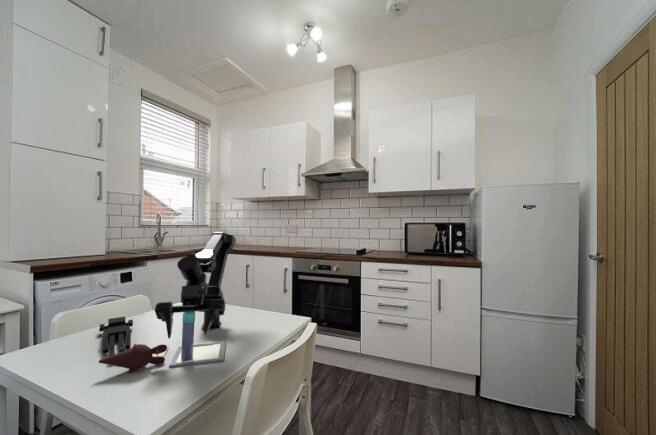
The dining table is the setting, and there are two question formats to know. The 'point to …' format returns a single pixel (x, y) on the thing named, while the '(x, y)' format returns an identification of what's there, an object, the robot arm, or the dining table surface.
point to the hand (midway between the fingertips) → (187, 336)
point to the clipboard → (201, 354)
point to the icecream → (136, 357)
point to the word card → (160, 354)
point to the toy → (116, 334)
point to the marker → (187, 335)
